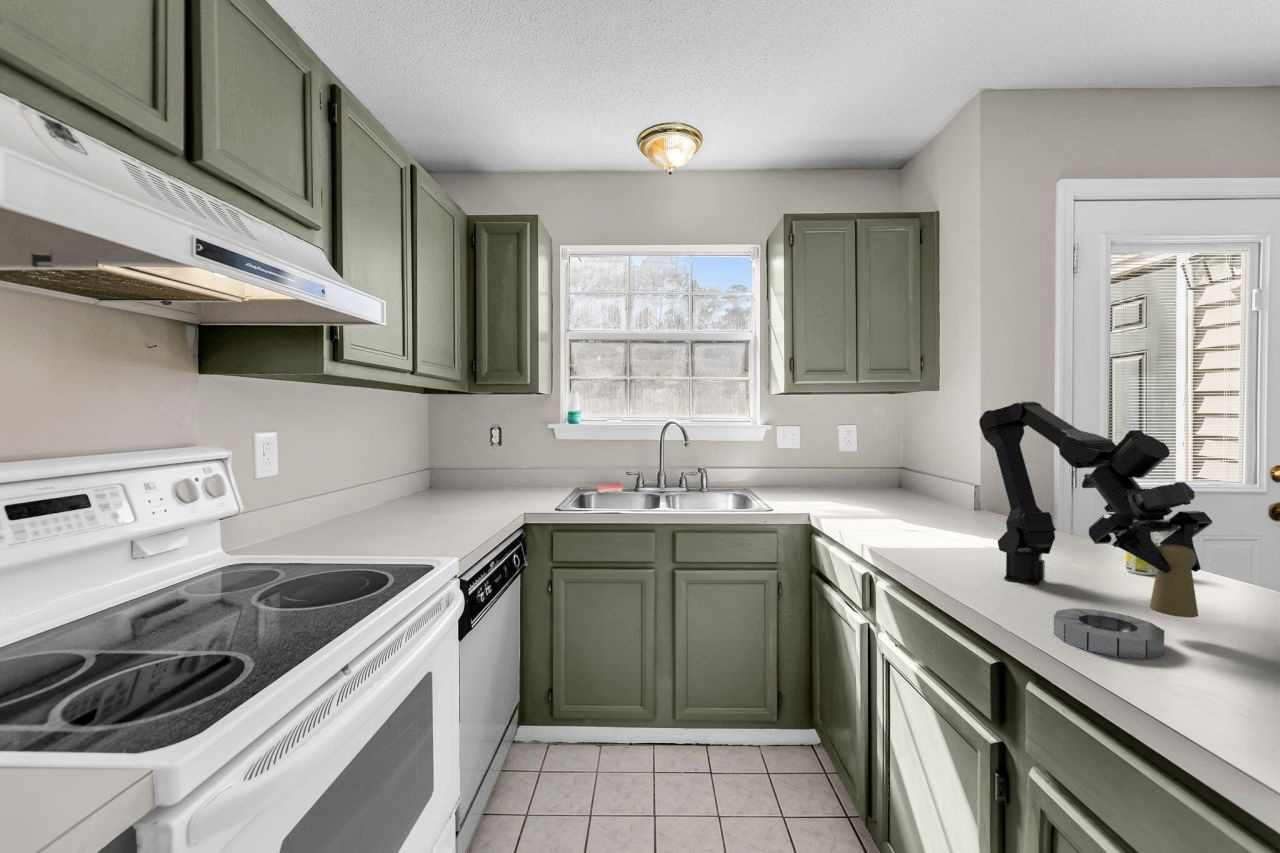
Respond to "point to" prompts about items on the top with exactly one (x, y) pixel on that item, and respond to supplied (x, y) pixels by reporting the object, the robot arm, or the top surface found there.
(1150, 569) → the supplement bottle
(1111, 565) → the top surface
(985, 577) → the top surface
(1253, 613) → the top surface
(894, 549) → the top surface
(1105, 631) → the ring
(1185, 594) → the cork
